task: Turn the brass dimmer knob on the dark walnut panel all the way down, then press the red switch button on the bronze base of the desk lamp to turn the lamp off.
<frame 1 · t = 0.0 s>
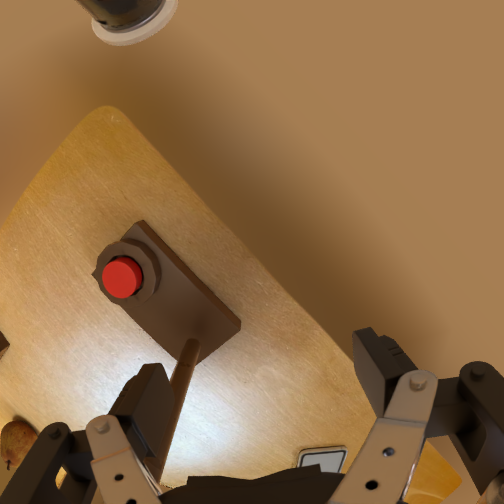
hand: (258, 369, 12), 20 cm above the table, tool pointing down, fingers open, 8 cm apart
lamp switch: (122, 277, 27), point 4 cm above the table, slide at 0.1 cm
smartphone: (316, 474, 39), on the table
lamp stem and shade: (157, 443, 16), on the lamp base, point 18 cm above the table
lamp base: (167, 295, 32), on the table
fruit: (29, 431, 39), on the table
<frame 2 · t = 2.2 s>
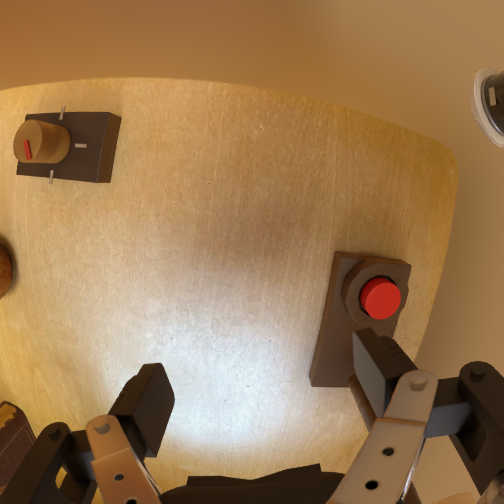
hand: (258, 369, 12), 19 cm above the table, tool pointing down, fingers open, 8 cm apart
lamp switch: (380, 298, 27), point 4 cm above the table, slide at 0.1 cm
book: (29, 441, 40), on the table
dimmer panel: (71, 147, 28), on the table
lamp stem and shade: (396, 473, 16), on the lamp base, point 18 cm above the table
lamp base: (356, 321, 32), on the table
fruit: (1, 264, 31), on the table
dimmer knob: (41, 142, 23), point 6 cm above the table, hinge at 120.0°
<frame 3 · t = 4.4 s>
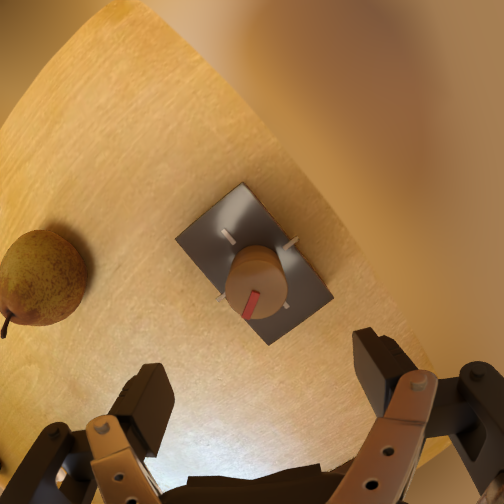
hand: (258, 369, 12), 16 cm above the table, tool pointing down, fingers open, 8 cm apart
dimmer panel: (256, 260, 27), on the table
fruit: (64, 266, 28), on the table
dimmer knob: (256, 279, 22), point 6 cm above the table, hinge at 120.0°
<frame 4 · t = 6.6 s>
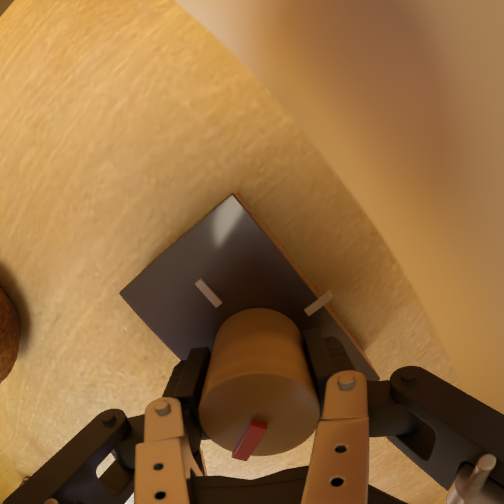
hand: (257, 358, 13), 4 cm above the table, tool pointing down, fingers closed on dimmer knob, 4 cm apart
dimmer panel: (257, 319, 17), on the table
dimmer knob: (259, 380, 11), point 6 cm above the table, hinge at 120.0°, touching gripper
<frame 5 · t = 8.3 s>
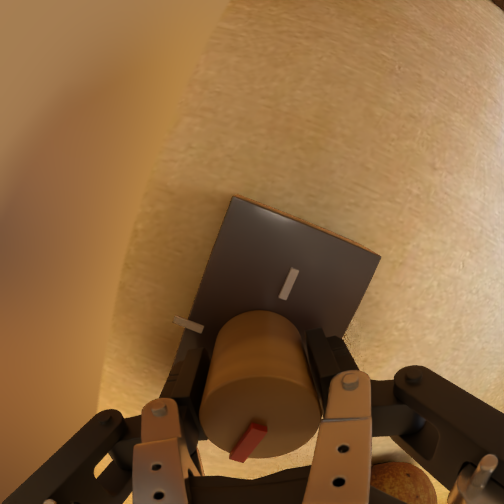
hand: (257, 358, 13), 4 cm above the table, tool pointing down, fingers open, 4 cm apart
dimmer panel: (258, 321, 17), on the table
fruit: (374, 477, 20), on the table
dimmer knob: (259, 382, 11), point 6 cm above the table, hinge at -3.6°
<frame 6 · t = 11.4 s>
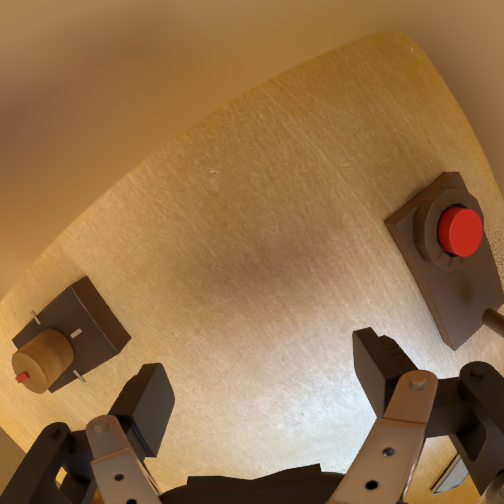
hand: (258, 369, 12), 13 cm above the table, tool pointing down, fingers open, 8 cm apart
lamp switch: (460, 231, 19), point 4 cm above the table, slide at 0.1 cm
smartphone: (463, 460, 31), on the table
dimmer panel: (72, 334, 26), on the table
lamp base: (449, 263, 24), on the table
dimmer knob: (42, 360, 20), point 6 cm above the table, hinge at -3.6°
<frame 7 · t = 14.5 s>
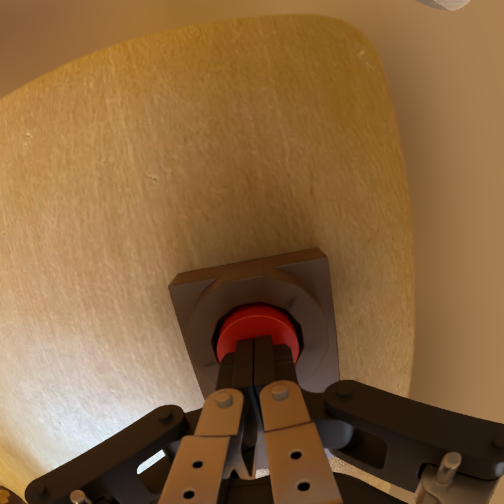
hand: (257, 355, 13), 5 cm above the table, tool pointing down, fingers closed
lamp switch: (257, 342, 14), point 4 cm above the table, slide at -0.5 cm, touching gripper
lamp base: (270, 373, 18), on the table
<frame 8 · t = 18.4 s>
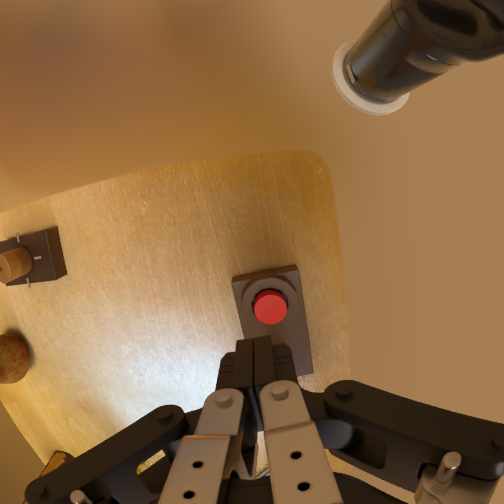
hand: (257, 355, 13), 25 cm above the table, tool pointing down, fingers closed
lamp switch: (270, 306, 34), point 4 cm above the table, slide at 0.1 cm
book: (84, 479, 50), on the table
smartphone: (267, 484, 47), on the table
dimmer panel: (34, 255, 38), on the table
lamp base: (274, 324, 39), on the table
fruit: (20, 348, 42), on the table
dimmer knob: (12, 264, 32), point 6 cm above the table, hinge at -3.6°
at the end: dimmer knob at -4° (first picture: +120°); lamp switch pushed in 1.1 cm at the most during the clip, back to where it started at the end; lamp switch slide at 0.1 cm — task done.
